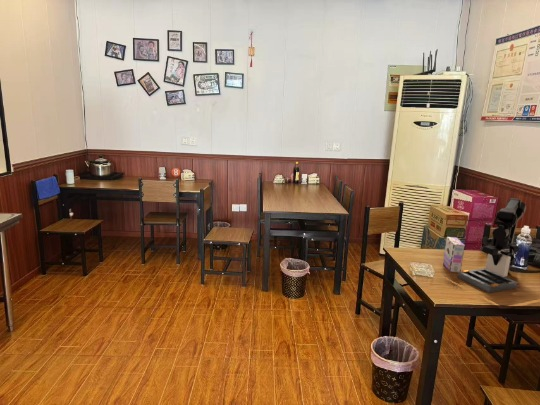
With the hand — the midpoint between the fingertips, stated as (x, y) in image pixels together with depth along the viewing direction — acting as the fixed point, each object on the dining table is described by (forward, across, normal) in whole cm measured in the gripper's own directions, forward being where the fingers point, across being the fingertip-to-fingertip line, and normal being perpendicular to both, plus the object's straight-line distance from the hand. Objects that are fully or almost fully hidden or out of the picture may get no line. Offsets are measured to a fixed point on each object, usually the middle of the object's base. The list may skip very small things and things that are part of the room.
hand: (497, 264), depth 182 cm
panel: (+4, 0, 0) cm, 4 cm away
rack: (+10, +5, 0) cm, 11 cm away
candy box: (+10, +6, -21) cm, 24 cm away
